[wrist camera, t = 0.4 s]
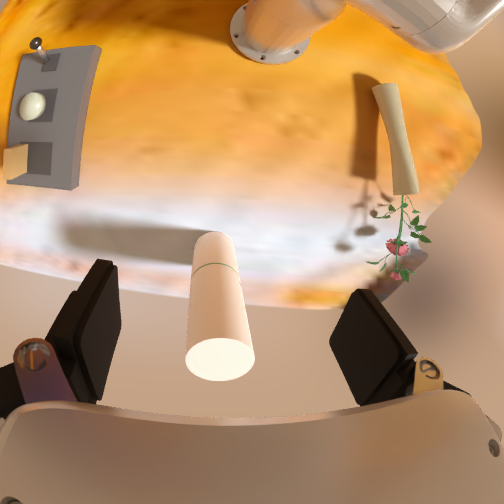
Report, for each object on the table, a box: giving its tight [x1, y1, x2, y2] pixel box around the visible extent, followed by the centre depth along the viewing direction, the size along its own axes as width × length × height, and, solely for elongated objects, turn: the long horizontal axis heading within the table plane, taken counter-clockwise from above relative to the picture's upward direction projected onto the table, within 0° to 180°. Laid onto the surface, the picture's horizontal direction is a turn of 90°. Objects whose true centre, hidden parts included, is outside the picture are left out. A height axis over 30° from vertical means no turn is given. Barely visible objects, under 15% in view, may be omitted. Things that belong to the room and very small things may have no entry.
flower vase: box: [366, 83, 431, 282], centre depth 43 cm, size 12×12×35 cm
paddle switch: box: [3, 144, 28, 180], centre depth 29 cm, size 5×2×5 cm, turn 166°
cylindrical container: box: [186, 231, 255, 381], centre depth 37 cm, size 7×7×25 cm
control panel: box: [7, 45, 102, 190], centre depth 30 cm, size 24×16×4 cm, turn 166°
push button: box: [20, 93, 46, 120], centre depth 26 cm, size 4×4×2 cm
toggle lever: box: [30, 37, 50, 63], centre depth 21 cm, size 2×2×6 cm
